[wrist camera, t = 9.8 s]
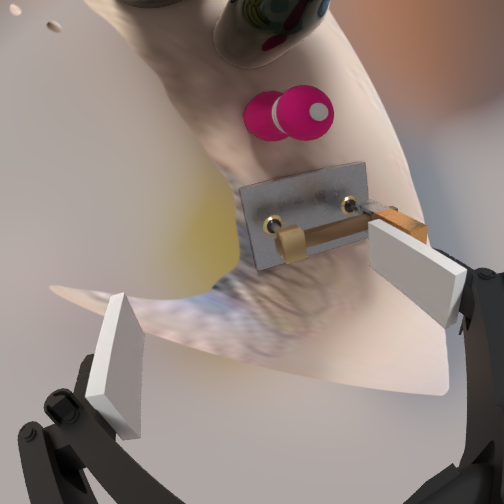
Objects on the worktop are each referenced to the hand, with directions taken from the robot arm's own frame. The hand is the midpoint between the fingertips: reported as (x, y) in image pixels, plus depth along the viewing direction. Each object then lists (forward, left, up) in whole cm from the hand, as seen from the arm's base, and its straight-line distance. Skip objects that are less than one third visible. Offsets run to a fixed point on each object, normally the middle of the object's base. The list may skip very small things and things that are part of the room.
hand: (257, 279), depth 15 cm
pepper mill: (-7, +11, -33) cm, 35 cm away
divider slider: (+10, +23, -31) cm, 39 cm away
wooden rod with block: (+10, +17, -31) cm, 37 cm away
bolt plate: (+10, +16, -33) cm, 38 cm away
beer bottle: (-20, +11, -33) cm, 40 cm away
